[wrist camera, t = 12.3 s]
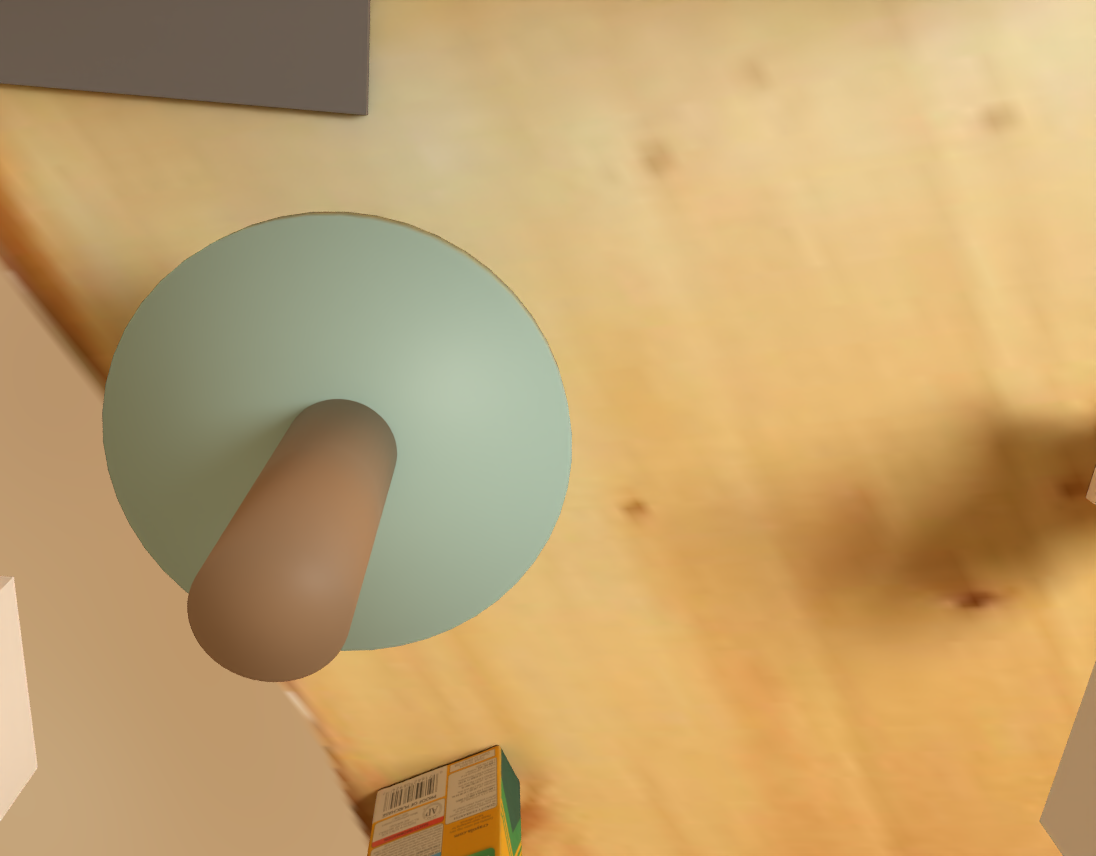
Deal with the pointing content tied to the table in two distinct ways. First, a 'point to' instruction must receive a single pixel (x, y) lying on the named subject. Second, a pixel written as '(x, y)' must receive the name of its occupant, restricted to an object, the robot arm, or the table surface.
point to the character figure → (1092, 489)
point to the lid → (335, 438)
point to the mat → (194, 49)
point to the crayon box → (451, 811)
